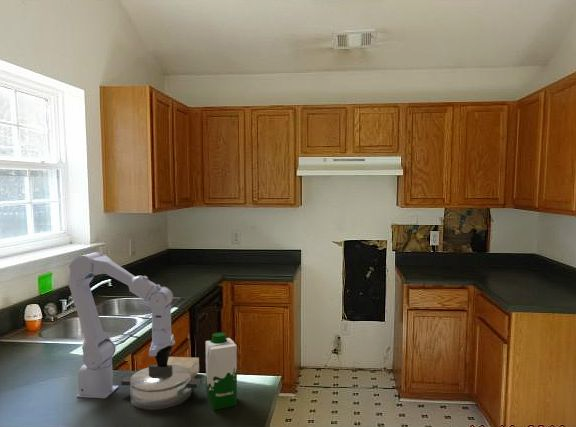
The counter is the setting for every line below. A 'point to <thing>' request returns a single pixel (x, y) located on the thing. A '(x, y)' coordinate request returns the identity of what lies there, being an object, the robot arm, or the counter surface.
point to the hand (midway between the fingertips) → (162, 370)
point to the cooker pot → (167, 396)
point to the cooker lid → (160, 377)
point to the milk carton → (221, 371)
